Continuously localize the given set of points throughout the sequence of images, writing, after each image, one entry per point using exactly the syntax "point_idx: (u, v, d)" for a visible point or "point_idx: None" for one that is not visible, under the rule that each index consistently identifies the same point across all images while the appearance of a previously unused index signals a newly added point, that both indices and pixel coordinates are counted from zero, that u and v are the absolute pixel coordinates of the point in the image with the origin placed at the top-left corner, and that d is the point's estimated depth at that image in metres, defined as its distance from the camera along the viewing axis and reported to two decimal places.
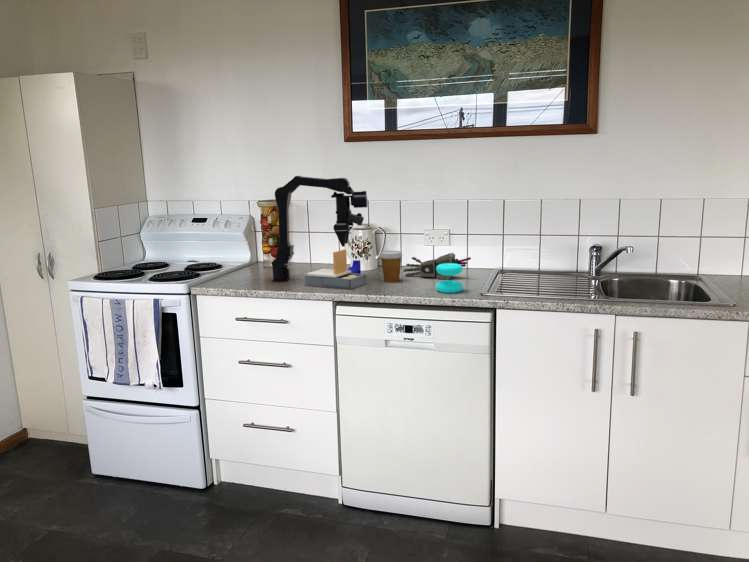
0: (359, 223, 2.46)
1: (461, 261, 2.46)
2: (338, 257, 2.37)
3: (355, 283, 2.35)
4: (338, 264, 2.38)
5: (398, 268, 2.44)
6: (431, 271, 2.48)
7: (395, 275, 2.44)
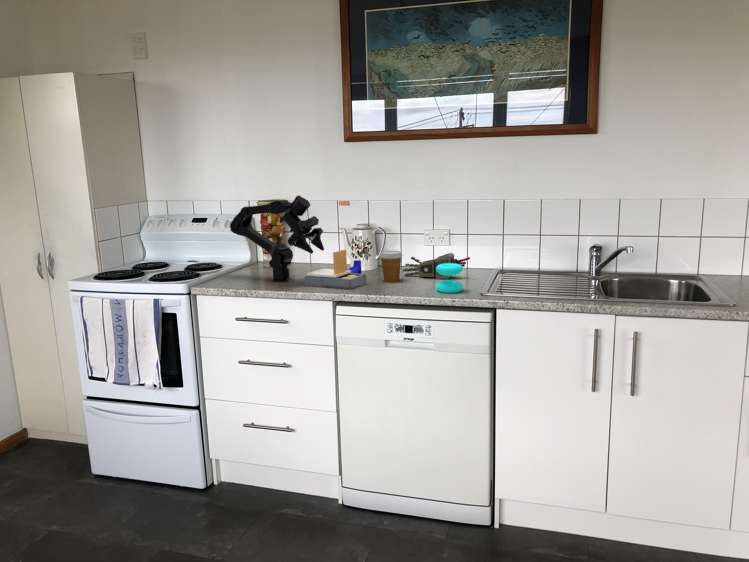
0: (310, 224, 2.41)
1: (460, 261, 2.46)
2: (338, 257, 2.37)
3: (355, 283, 2.35)
4: (338, 264, 2.38)
5: (398, 268, 2.44)
6: (430, 271, 2.48)
7: (395, 275, 2.44)
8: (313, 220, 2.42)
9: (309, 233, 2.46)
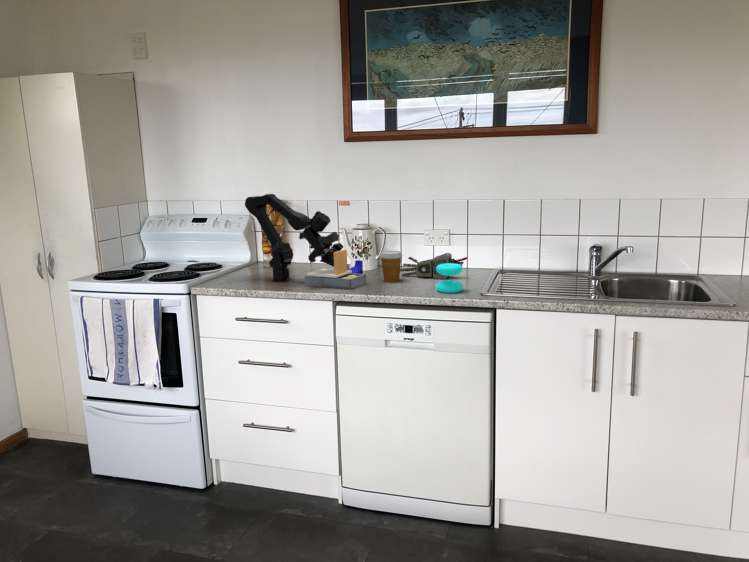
0: (331, 240, 2.37)
1: (458, 261, 2.46)
2: (339, 257, 2.37)
3: (355, 283, 2.35)
4: (339, 264, 2.37)
5: (398, 268, 2.44)
6: (428, 271, 2.49)
7: (395, 275, 2.44)
8: (334, 236, 2.38)
9: (334, 248, 2.46)
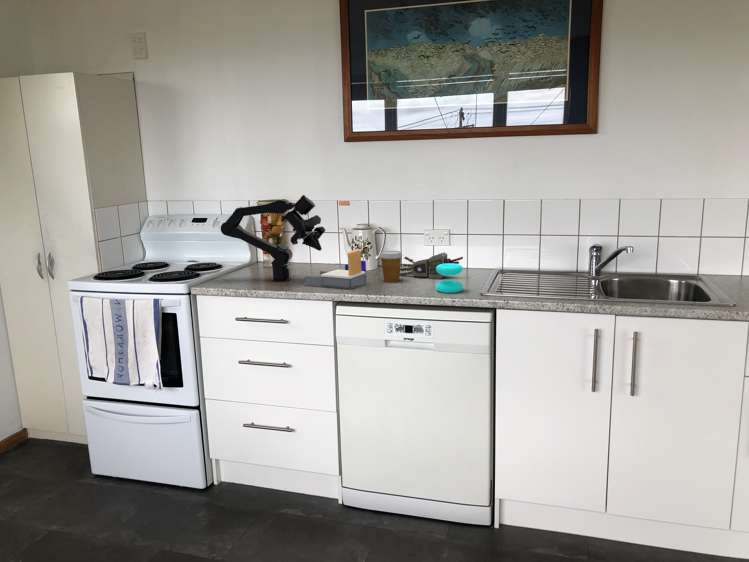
0: (312, 223, 2.43)
1: (453, 261, 2.47)
2: (353, 258, 2.34)
3: (355, 283, 2.35)
4: (353, 265, 2.34)
5: (398, 268, 2.44)
6: (423, 271, 2.50)
7: (395, 275, 2.44)
8: (315, 219, 2.44)
9: (317, 231, 2.52)
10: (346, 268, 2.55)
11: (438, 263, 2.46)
